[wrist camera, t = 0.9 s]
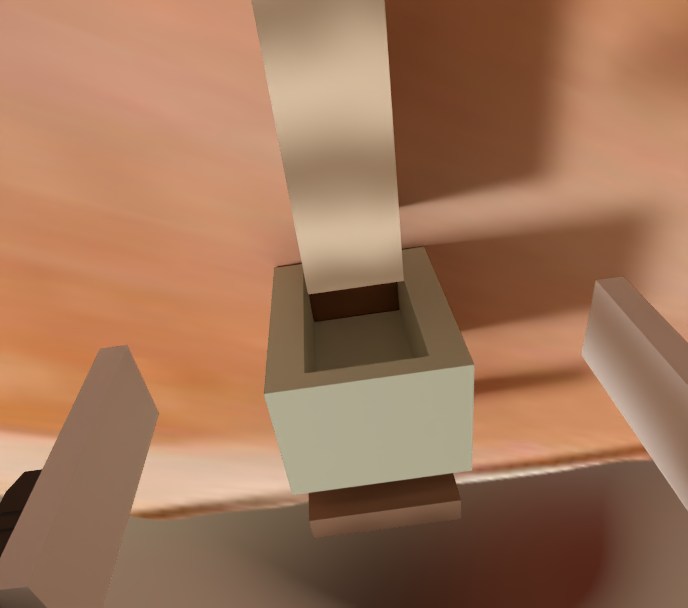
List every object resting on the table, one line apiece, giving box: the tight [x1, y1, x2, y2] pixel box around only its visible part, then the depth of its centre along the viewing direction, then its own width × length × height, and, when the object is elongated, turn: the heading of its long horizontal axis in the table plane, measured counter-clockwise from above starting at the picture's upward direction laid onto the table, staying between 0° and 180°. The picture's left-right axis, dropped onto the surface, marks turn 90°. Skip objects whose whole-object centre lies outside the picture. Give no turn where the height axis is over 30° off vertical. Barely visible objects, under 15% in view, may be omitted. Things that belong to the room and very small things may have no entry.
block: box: [264, 247, 474, 495], centre depth 33 cm, size 8×10×12 cm
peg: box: [252, 0, 404, 294], centre depth 27 cm, size 14×5×9 cm, turn 7°
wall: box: [309, 473, 461, 539], centre depth 40 cm, size 4×10×11 cm, turn 97°
